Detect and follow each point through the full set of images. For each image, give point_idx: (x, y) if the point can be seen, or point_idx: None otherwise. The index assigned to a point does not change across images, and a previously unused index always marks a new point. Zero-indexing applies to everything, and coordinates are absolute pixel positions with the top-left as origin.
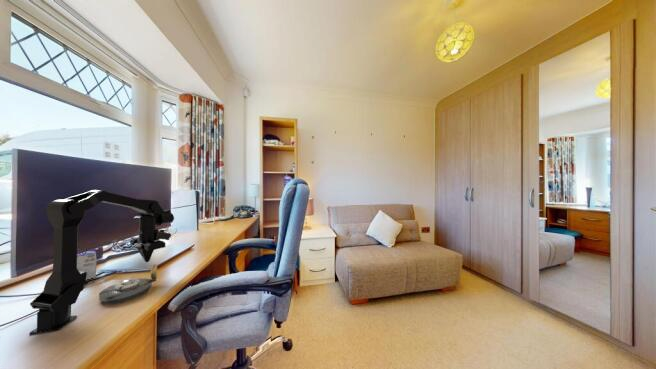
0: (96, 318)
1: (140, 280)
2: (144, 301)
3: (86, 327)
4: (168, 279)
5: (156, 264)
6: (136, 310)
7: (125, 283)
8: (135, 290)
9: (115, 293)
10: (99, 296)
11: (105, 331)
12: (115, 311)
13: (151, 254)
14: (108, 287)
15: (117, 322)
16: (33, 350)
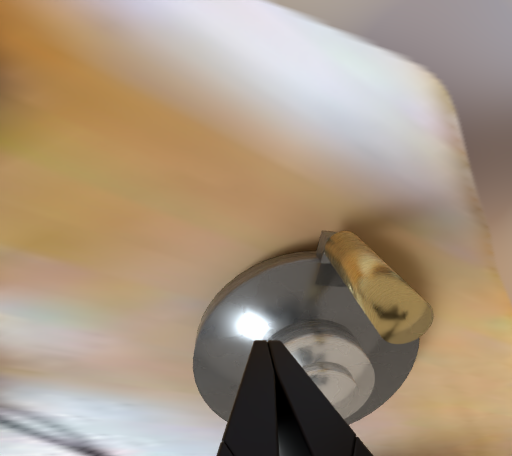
0: (391, 422)
1: (280, 299)
2: (451, 321)
3: (416, 441)
4: (333, 131)
5: (408, 299)
6: (483, 357)
7: (346, 410)
8: (399, 357)
9: None
10: None
11: (493, 424)
12: (409, 389)
13: (355, 440)
14: (211, 403)
15: (485, 402)
16: None
